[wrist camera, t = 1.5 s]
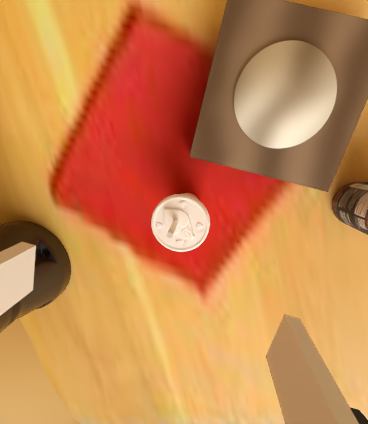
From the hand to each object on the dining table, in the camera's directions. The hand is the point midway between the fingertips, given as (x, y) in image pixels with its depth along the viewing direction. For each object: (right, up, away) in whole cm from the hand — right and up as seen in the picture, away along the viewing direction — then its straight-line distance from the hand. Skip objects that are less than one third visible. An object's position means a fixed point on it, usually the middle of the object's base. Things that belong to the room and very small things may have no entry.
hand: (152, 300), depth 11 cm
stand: (+12, +18, +17) cm, 28 cm away
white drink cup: (+2, +6, +22) cm, 23 cm away
